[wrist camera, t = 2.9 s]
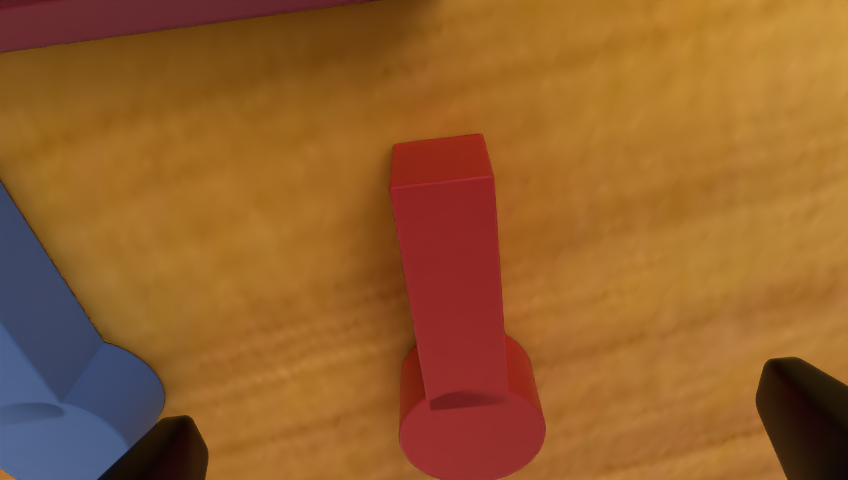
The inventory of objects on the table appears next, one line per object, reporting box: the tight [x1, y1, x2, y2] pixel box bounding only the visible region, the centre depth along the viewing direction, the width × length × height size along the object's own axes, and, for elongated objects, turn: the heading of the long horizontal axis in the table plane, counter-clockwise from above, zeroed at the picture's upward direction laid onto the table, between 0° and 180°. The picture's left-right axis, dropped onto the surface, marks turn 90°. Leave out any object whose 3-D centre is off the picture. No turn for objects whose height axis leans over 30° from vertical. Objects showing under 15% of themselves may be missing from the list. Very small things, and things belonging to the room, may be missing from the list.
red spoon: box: [389, 134, 546, 480], centre depth 12 cm, size 8×3×2 cm, turn 7°
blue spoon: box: [0, 182, 165, 480], centre depth 12 cm, size 8×3×2 cm, turn 10°
